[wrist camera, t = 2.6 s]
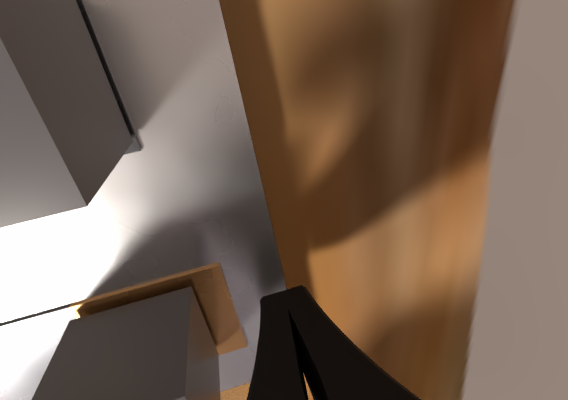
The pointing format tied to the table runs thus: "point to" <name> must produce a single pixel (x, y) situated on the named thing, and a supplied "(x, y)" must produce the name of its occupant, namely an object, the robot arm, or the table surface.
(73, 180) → the block
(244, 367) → the panel
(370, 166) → the table surface
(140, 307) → the breaker
